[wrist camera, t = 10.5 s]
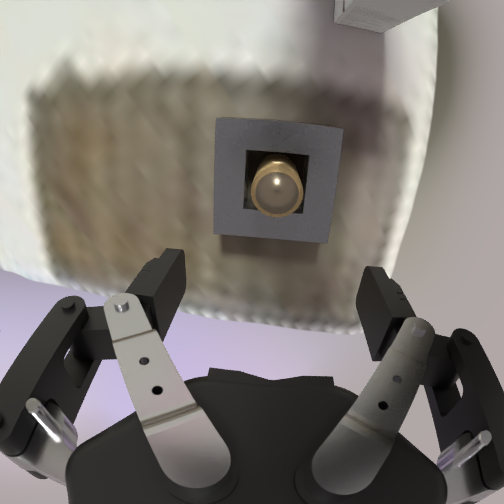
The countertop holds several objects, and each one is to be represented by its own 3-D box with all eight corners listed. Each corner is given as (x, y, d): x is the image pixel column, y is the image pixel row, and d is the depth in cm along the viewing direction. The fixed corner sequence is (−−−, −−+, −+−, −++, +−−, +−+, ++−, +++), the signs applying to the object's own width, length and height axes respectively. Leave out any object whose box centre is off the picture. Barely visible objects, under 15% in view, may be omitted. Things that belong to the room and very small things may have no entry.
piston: (257, 152, 30) (252, 165, 23) (298, 156, 30) (306, 170, 23) (255, 191, 32) (249, 216, 25) (294, 194, 32) (300, 220, 25)
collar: (223, 117, 29) (215, 118, 25) (335, 126, 28) (343, 129, 25) (220, 220, 34) (213, 233, 31) (321, 228, 34) (327, 243, 30)
